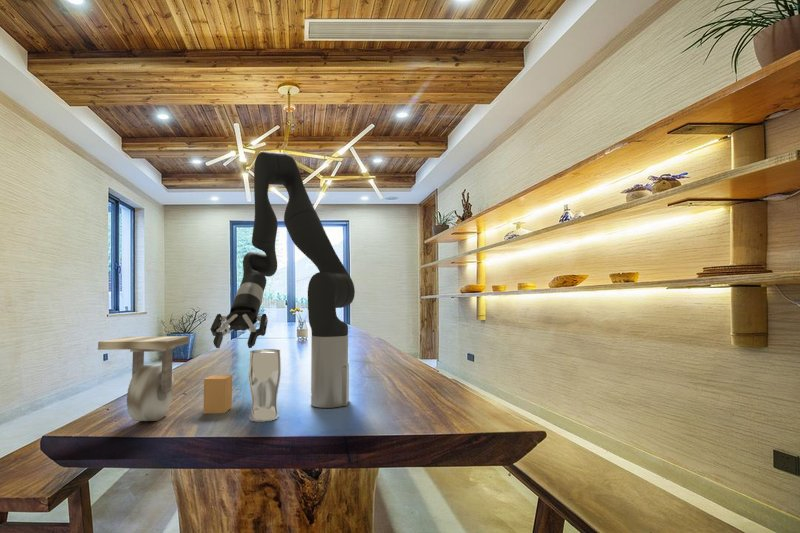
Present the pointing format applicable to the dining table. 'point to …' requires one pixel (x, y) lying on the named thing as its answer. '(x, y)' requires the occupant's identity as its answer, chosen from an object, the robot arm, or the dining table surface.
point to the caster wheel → (148, 374)
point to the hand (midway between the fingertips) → (233, 346)
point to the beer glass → (264, 383)
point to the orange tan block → (217, 394)
